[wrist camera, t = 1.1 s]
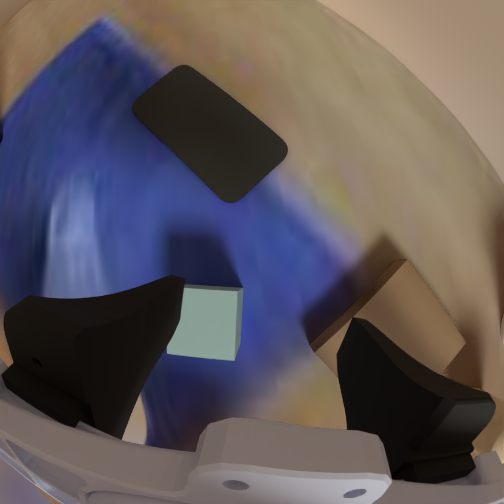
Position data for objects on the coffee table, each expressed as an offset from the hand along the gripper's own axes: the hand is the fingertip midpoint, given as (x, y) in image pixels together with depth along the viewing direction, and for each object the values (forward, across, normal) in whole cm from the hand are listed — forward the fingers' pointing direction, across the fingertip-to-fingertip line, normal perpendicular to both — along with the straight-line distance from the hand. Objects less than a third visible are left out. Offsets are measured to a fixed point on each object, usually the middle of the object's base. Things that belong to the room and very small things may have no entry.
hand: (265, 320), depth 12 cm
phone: (+16, +8, -8) cm, 20 cm away
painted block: (+10, +3, +6) cm, 12 cm away
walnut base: (+10, -12, +6) cm, 16 cm away
